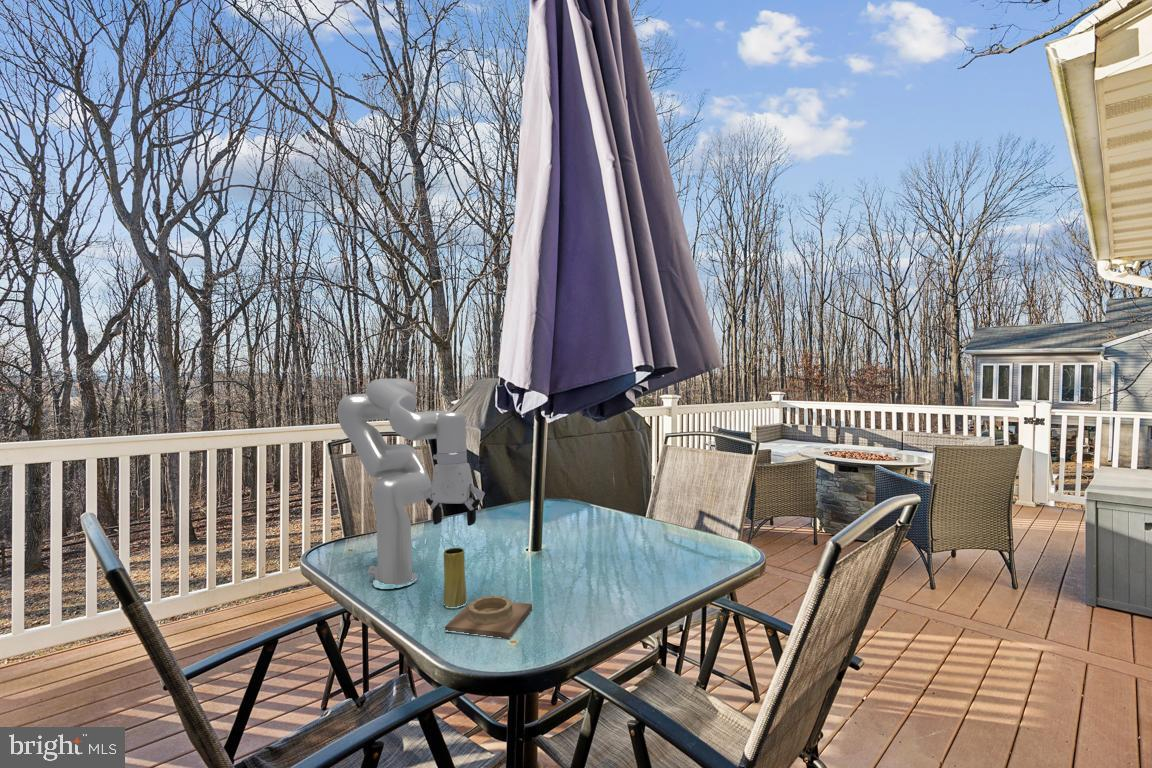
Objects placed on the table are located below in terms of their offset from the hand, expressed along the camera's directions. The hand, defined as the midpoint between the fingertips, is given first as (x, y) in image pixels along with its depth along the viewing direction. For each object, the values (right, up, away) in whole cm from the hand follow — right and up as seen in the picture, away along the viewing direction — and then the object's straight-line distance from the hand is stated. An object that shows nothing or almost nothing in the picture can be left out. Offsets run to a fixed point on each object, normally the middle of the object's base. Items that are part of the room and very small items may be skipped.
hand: (454, 523), depth 141 cm
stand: (+11, -21, -10) cm, 26 cm away
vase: (0, -22, 0) cm, 22 cm away
